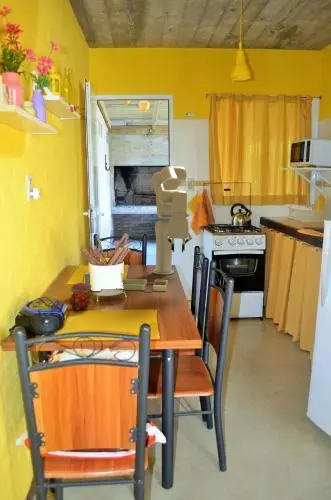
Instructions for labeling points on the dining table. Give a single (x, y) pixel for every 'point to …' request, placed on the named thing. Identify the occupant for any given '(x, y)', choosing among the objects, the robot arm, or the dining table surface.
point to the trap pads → (149, 290)
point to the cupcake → (80, 286)
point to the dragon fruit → (80, 300)
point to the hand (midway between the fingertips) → (177, 251)
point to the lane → (141, 285)
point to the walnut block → (160, 282)
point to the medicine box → (87, 279)
